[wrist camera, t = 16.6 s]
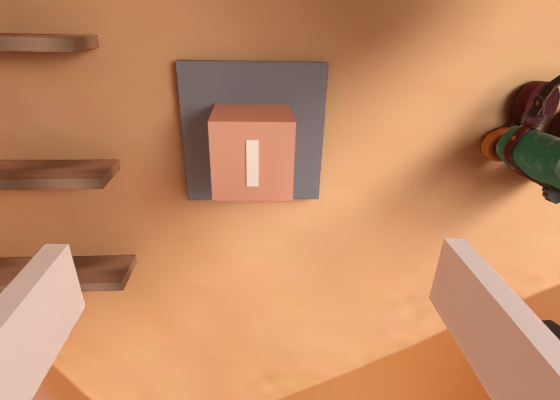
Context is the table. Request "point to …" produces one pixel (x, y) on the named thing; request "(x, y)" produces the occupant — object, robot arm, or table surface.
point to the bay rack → (63, 177)
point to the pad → (253, 90)
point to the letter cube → (252, 152)
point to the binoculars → (531, 138)
